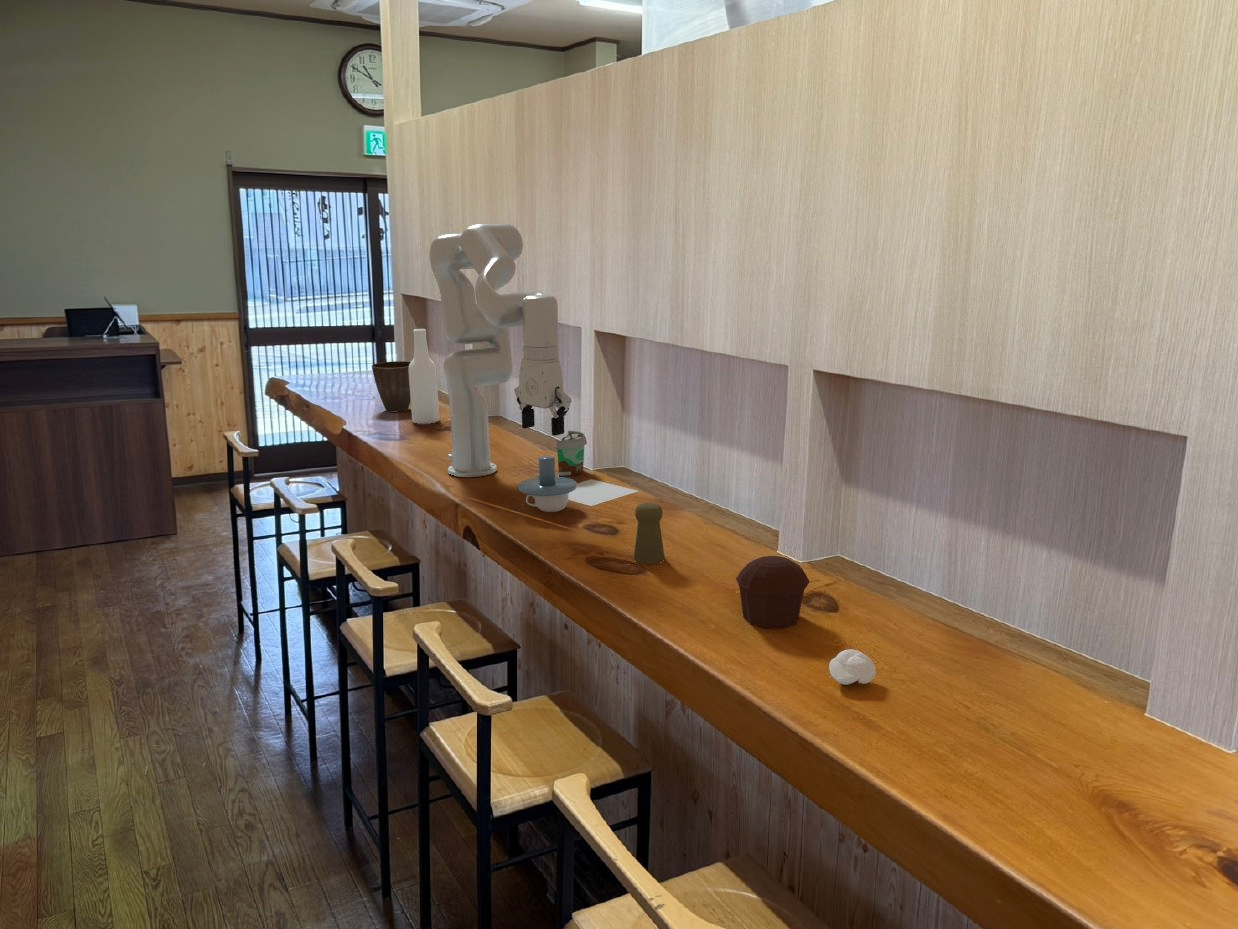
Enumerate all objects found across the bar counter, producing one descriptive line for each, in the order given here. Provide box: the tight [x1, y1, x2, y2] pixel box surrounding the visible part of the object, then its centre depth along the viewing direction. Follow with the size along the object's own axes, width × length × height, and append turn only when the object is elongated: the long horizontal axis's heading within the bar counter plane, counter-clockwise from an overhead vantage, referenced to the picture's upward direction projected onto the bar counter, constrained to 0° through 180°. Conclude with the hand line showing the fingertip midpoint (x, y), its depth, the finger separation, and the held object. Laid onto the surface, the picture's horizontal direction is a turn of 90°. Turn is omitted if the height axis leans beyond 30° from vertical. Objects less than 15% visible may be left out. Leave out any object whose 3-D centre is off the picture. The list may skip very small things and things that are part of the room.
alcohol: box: [408, 328, 440, 425], centre depth 303 cm, size 9×9×30 cm
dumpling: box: [828, 648, 877, 686], centre depth 131 cm, size 7×5×4 cm
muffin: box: [735, 555, 810, 630], centre depth 152 cm, size 12×11×10 cm
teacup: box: [525, 493, 569, 513], centre depth 211 cm, size 10×8×5 cm
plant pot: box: [371, 360, 411, 412], centre depth 325 cm, size 15×15×16 cm
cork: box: [633, 502, 666, 565], centre depth 179 cm, size 6×6×11 cm
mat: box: [568, 478, 640, 507], centre depth 224 cm, size 16×16×1 cm
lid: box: [517, 455, 578, 496], centre depth 209 cm, size 13×13×7 cm
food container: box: [556, 430, 588, 478], centre depth 240 cm, size 12×6×10 cm, turn 168°
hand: (543, 430), depth 207 cm, fingers open, 9 cm apart
